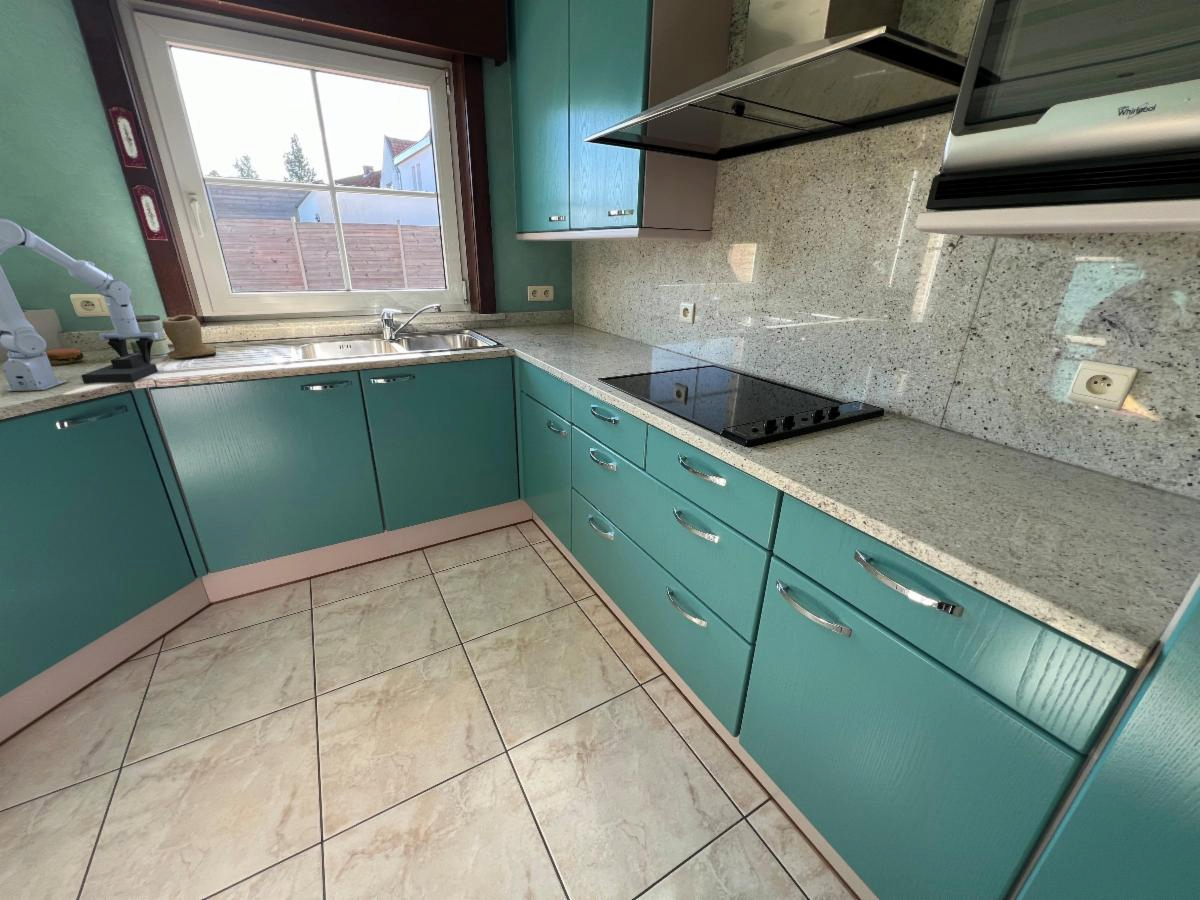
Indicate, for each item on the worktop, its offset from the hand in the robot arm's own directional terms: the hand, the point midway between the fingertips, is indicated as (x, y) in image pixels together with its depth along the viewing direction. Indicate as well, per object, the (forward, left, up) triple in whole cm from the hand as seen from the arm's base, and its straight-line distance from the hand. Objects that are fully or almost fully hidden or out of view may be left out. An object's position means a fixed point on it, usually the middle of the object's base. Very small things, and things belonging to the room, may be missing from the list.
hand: (137, 361), depth 160 cm
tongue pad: (-3, 0, -2) cm, 4 cm away
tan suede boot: (+21, -7, -3) cm, 23 cm away
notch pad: (-10, 0, -3) cm, 10 cm away
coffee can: (+25, +8, -3) cm, 27 cm away
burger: (+16, +29, -3) cm, 33 cm away
